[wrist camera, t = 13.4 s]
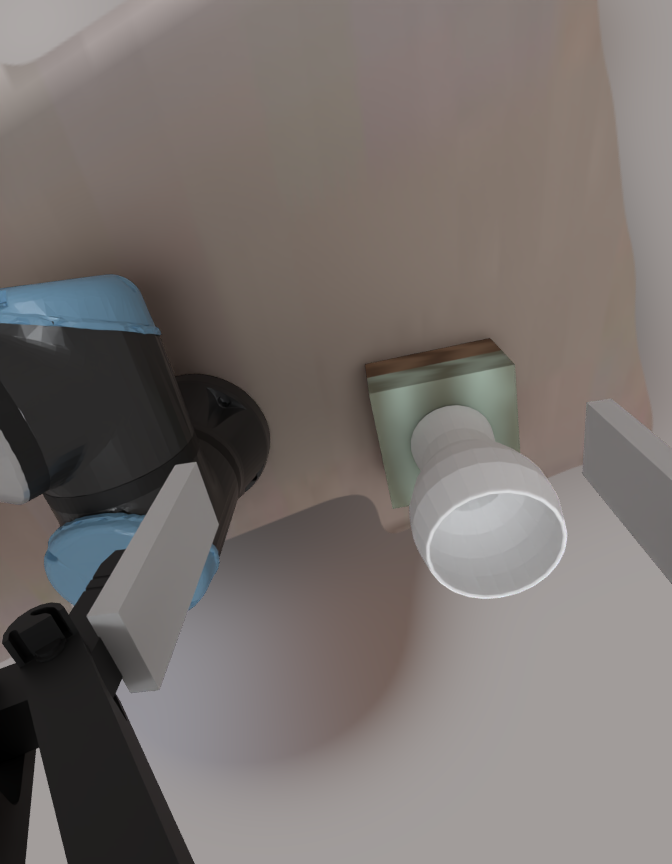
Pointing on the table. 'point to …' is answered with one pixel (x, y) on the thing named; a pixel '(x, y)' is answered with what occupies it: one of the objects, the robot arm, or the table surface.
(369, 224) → the table surface
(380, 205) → the table surface
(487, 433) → the cup
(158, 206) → the table surface
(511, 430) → the tower base
